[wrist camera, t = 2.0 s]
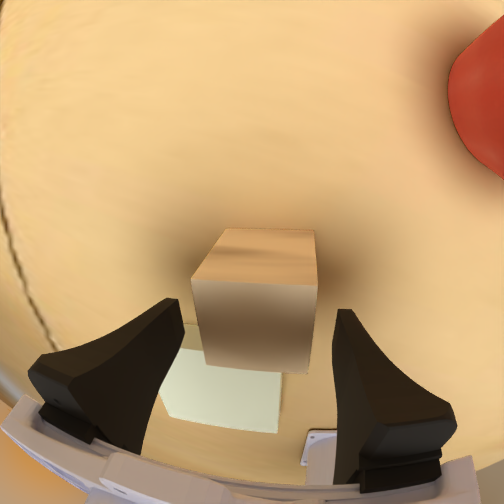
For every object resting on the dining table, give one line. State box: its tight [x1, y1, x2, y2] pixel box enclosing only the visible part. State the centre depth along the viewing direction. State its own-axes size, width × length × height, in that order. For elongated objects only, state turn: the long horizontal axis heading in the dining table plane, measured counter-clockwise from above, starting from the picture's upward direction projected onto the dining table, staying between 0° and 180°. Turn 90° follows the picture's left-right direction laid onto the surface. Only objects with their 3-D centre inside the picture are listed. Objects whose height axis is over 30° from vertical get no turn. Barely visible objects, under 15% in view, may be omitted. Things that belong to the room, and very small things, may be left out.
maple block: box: [191, 228, 318, 374], centre depth 15 cm, size 5×5×6 cm
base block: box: [159, 324, 283, 433], centre depth 21 cm, size 10×10×3 cm
